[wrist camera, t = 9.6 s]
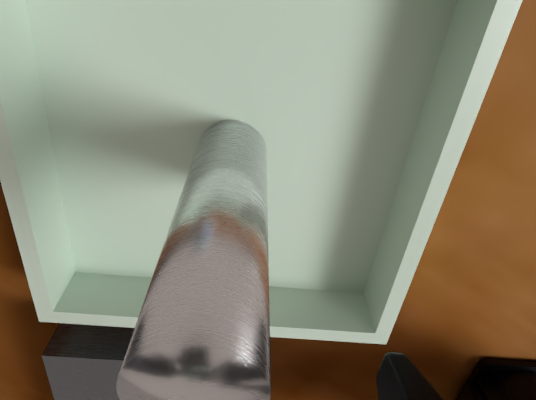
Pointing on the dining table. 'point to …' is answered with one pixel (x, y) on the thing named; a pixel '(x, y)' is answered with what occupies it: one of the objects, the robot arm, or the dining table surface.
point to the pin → (209, 282)
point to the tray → (253, 113)
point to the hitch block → (86, 361)
